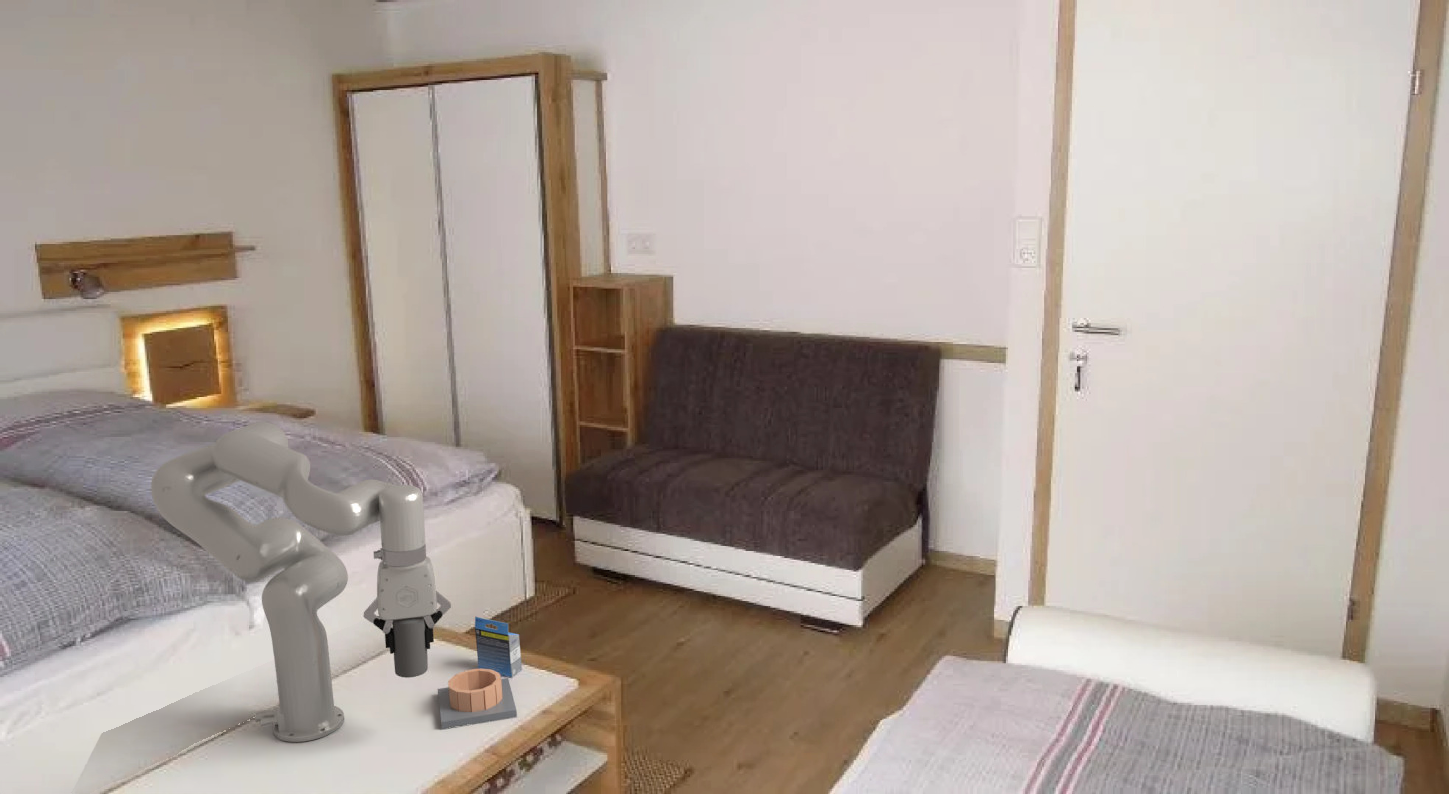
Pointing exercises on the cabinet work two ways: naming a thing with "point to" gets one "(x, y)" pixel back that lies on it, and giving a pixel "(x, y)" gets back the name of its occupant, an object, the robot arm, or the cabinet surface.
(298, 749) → the cabinet surface
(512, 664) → the label tape box
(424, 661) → the bottle
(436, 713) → the cabinet surface
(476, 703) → the holder
